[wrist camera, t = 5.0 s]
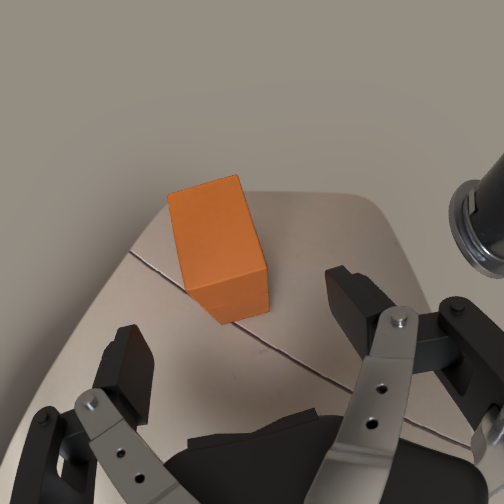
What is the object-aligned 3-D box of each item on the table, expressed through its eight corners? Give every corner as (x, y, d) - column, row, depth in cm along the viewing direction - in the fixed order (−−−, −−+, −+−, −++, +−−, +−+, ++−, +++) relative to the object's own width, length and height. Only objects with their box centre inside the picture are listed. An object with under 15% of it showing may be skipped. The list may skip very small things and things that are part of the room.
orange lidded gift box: (250, 248, 27) (237, 173, 17) (269, 311, 25) (267, 268, 15) (205, 261, 27) (166, 194, 16) (221, 325, 25) (185, 291, 14)
